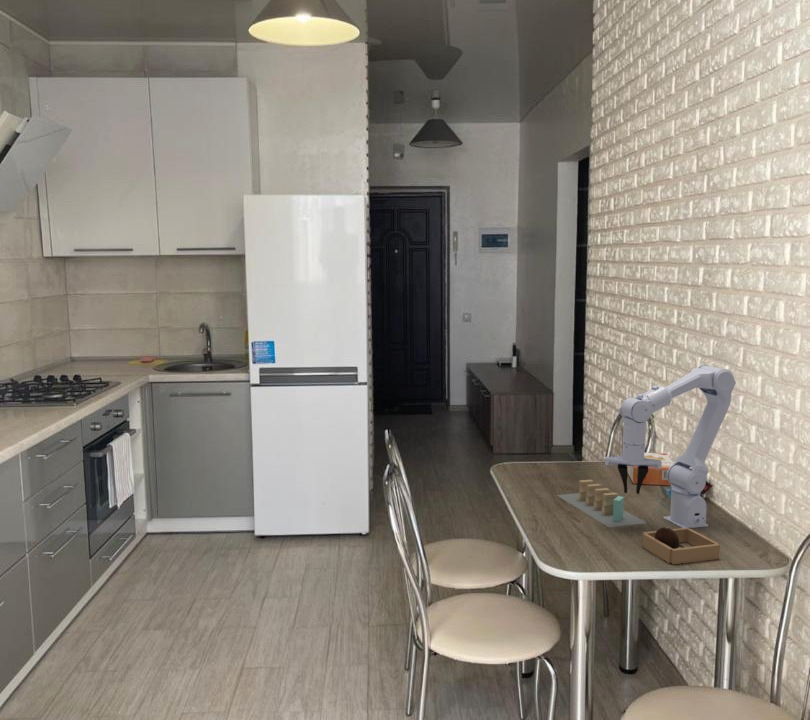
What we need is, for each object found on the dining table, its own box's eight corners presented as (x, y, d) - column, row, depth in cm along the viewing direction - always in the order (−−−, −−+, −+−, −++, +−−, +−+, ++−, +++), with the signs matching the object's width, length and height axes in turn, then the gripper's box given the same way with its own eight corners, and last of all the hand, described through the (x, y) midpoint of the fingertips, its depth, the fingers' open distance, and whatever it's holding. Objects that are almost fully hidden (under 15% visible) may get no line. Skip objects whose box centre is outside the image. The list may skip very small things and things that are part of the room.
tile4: (600, 504, 232) (601, 485, 231) (588, 506, 231) (589, 486, 230) (597, 503, 234) (598, 483, 233) (585, 504, 233) (586, 484, 232)
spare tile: (623, 517, 221) (623, 497, 220) (618, 521, 218) (619, 500, 217) (617, 516, 222) (618, 496, 221) (612, 520, 218) (613, 499, 218)
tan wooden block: (608, 509, 228) (609, 489, 227) (596, 510, 227) (597, 490, 226) (605, 508, 229) (606, 488, 229) (593, 509, 228) (594, 489, 228)
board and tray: (720, 558, 192) (721, 544, 192) (667, 565, 188) (668, 551, 188) (599, 492, 246) (600, 481, 245) (556, 496, 242) (556, 485, 241)
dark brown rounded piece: (692, 552, 197) (693, 523, 196) (675, 560, 192) (677, 531, 191) (663, 543, 203) (664, 516, 202) (646, 550, 198) (647, 522, 197)
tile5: (592, 500, 236) (593, 481, 236) (580, 501, 235) (581, 482, 235) (590, 498, 238) (590, 479, 237) (578, 500, 237) (578, 480, 236)
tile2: (617, 514, 224) (618, 494, 223) (604, 515, 222) (605, 495, 222) (614, 512, 225) (615, 492, 224) (601, 514, 224) (602, 493, 223)
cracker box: (633, 466, 254) (624, 451, 275) (632, 484, 255) (624, 467, 275) (678, 467, 252) (666, 452, 273) (677, 486, 253) (665, 469, 273)
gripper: (660, 441, 213) (658, 490, 215) (605, 438, 216) (603, 486, 218) (663, 447, 206) (660, 497, 208) (606, 444, 210) (604, 493, 211)
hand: (631, 492), depth 213 cm, fingers closed
